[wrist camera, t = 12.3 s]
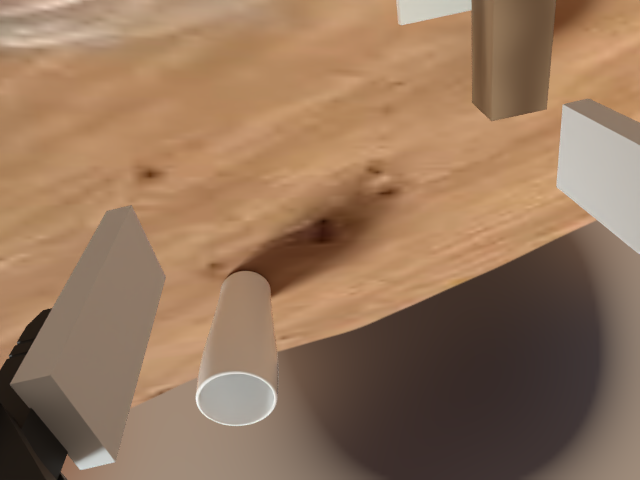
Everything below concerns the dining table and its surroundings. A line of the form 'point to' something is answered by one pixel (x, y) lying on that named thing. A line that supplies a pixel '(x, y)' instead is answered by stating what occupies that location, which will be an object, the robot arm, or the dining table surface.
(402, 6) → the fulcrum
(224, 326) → the drinking glass
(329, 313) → the dining table surface
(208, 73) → the dining table surface
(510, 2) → the batten
